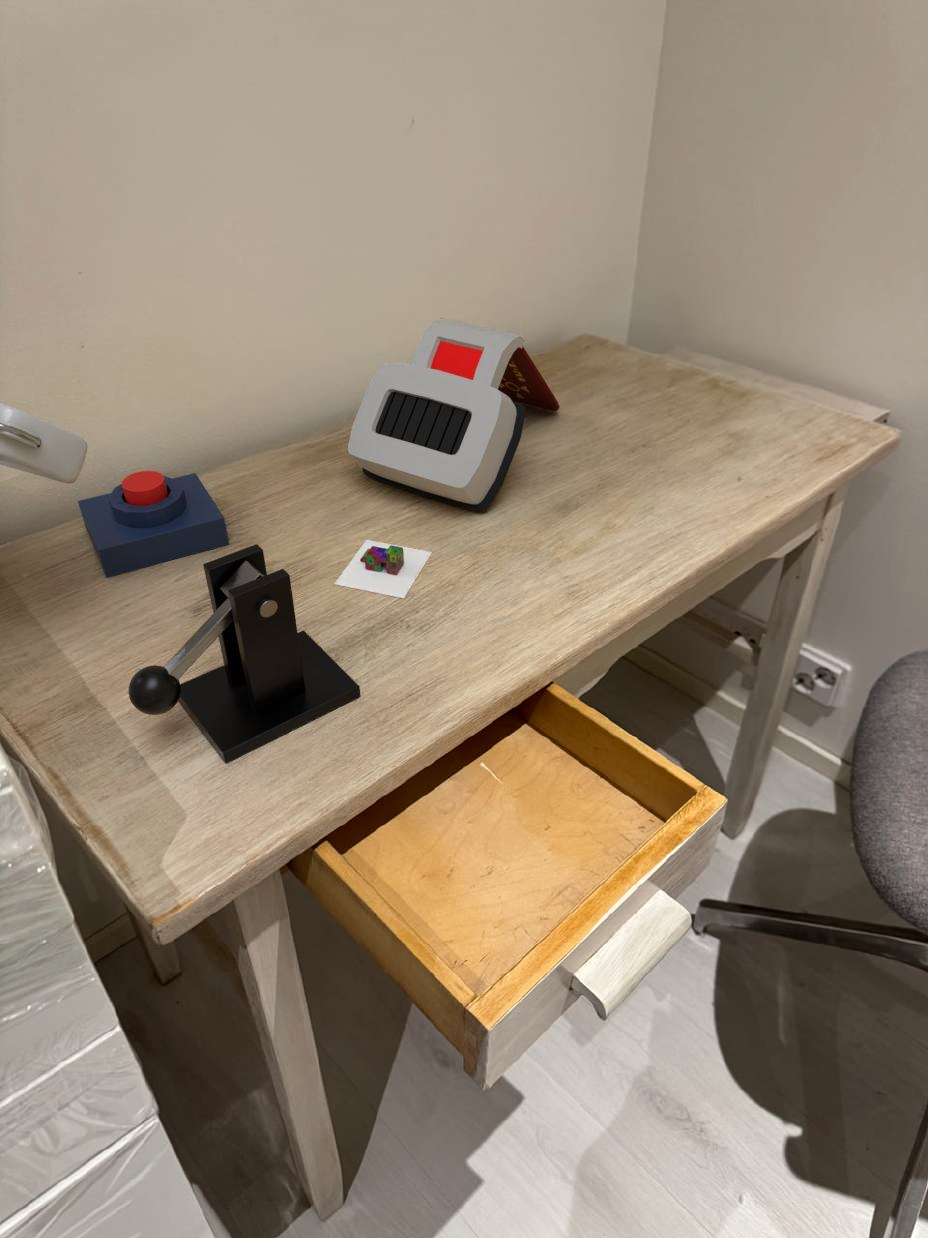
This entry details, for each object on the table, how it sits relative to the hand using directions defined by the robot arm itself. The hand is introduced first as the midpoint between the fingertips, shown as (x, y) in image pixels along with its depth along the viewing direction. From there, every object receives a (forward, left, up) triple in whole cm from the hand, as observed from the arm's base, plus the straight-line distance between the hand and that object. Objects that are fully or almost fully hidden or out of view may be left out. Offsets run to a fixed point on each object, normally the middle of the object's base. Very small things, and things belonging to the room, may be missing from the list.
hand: (34, 457), depth 75 cm
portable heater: (+46, +6, -14) cm, 48 cm away
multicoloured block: (+27, -10, -14) cm, 32 cm away
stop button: (+9, +6, -9) cm, 14 cm away
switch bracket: (+11, -22, -14) cm, 28 cm away
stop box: (+9, +6, -14) cm, 17 cm away
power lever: (+7, -23, -7) cm, 25 cm away
